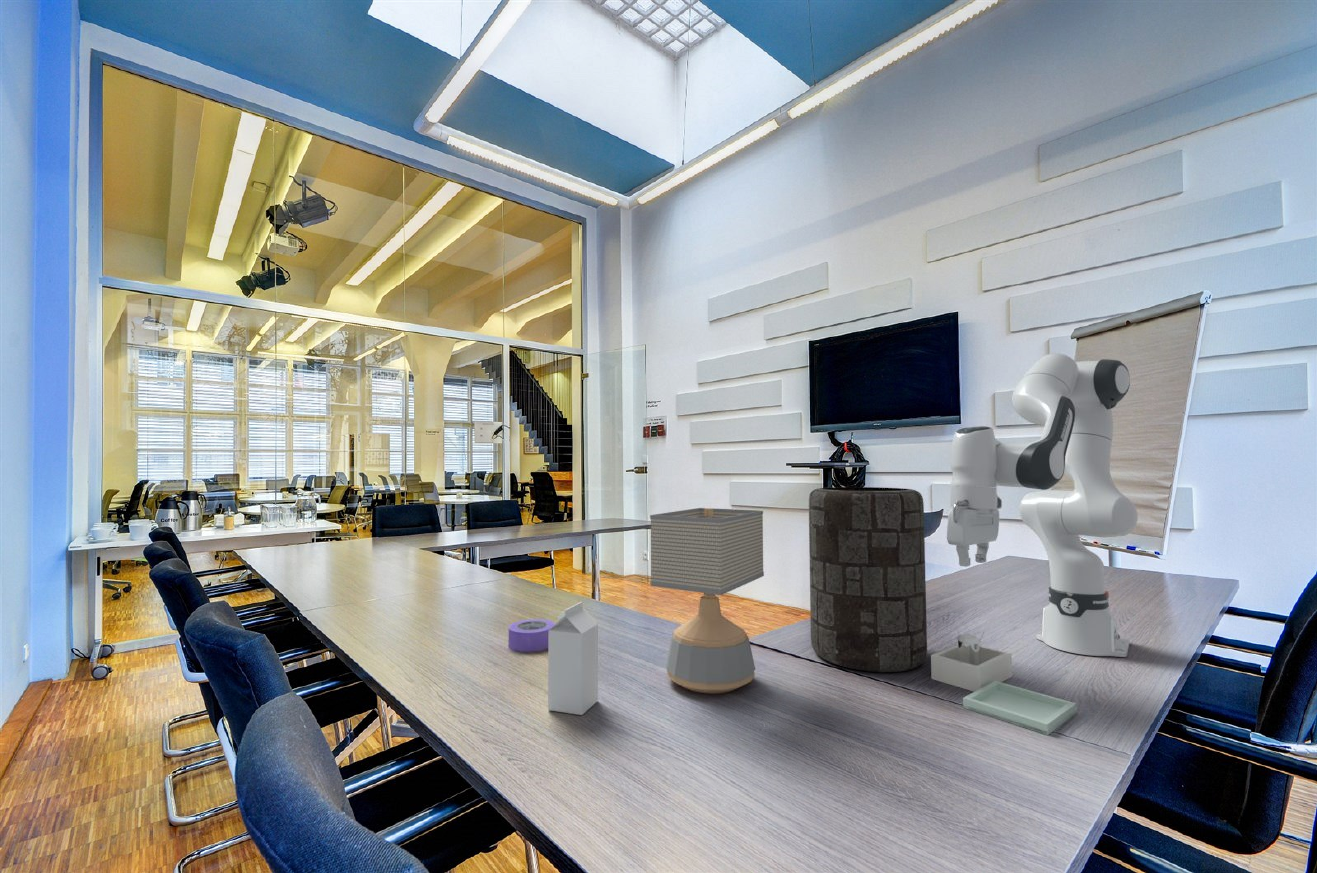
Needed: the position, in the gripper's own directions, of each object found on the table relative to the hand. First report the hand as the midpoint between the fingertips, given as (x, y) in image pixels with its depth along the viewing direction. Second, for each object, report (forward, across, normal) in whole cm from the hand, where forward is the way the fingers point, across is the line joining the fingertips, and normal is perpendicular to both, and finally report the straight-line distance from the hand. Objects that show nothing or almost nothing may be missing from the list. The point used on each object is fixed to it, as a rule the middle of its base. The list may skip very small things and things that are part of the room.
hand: (972, 564), depth 125 cm
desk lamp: (+27, -42, +37) cm, 62 cm away
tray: (+24, -10, -12) cm, 29 cm away
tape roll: (+28, -57, +86) cm, 107 cm away
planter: (+25, -2, +23) cm, 34 cm away
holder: (+24, +1, 0) cm, 24 cm away
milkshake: (+24, +1, 0) cm, 25 cm away
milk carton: (+28, -70, +47) cm, 89 cm away
